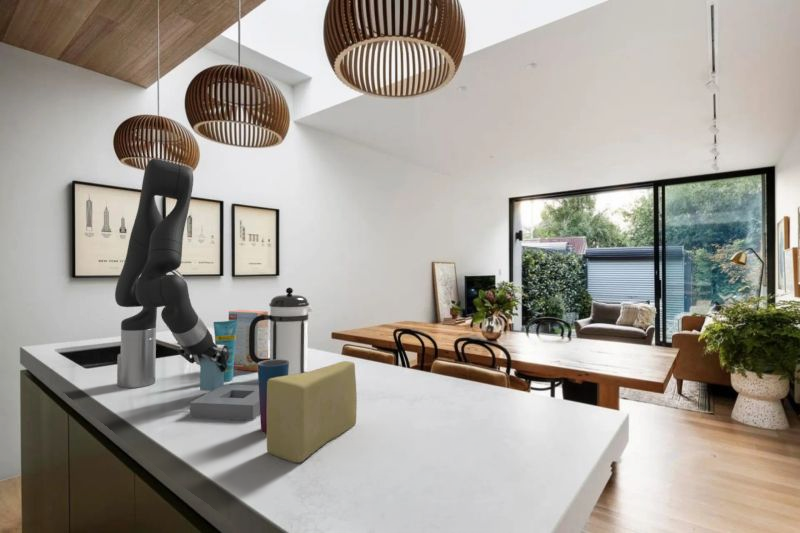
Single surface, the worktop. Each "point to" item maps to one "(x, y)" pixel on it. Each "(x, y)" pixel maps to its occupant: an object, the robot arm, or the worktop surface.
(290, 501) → the worktop surface
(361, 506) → the worktop surface
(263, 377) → the cup
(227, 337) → the tube
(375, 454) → the worktop surface
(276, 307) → the coffee press
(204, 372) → the white-topped blue pillar
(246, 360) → the cracker box
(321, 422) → the cheese
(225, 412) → the socket
